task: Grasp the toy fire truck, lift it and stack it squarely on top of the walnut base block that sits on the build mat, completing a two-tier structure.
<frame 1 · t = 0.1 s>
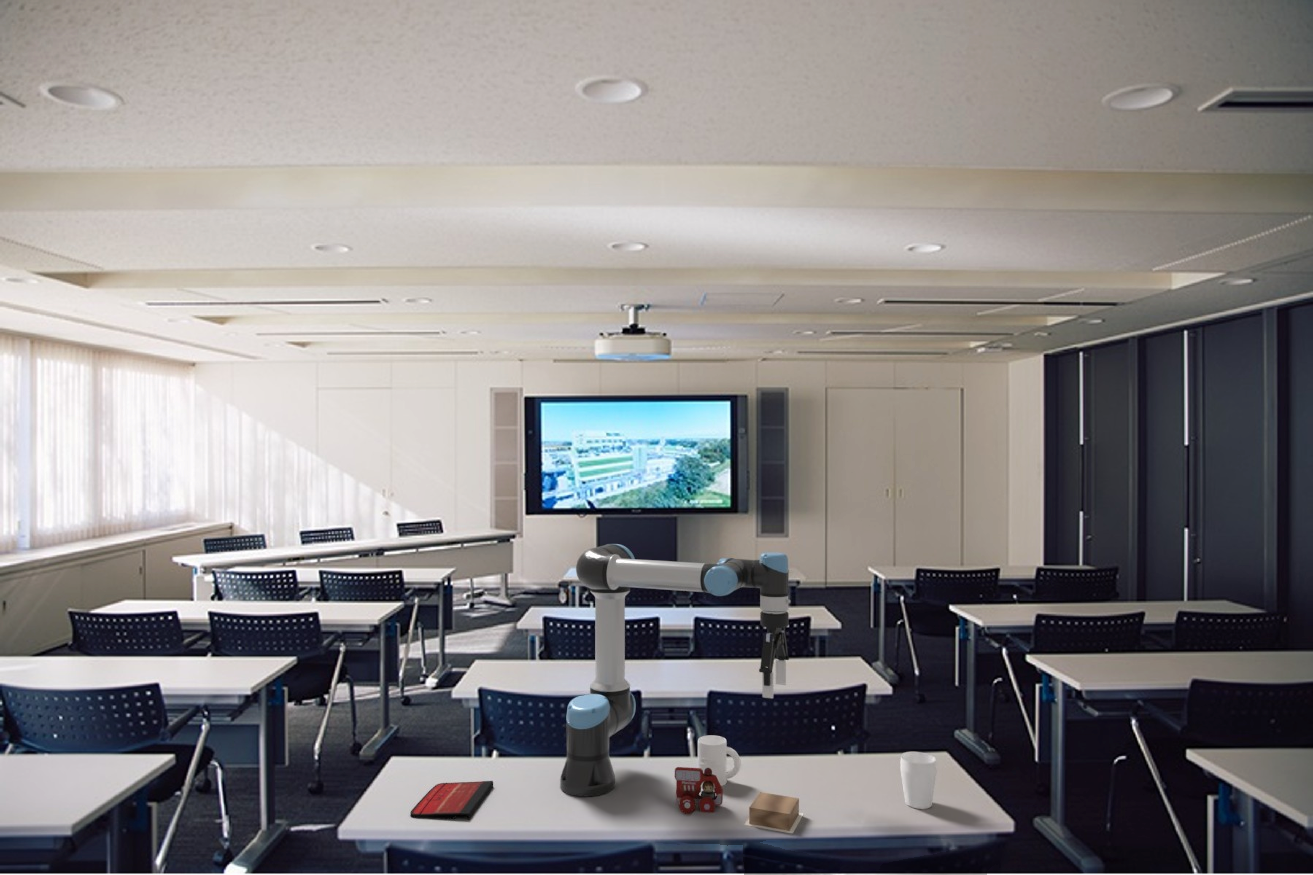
hand: (774, 690, 222), 28 cm above the table, fingers open, 13 cm apart
toy fire truck: (698, 809, 213), on the table
binder: (452, 804, 217), on the table
cup: (918, 804, 216), on the table
base block: (774, 818, 206), point 1 cm above the table, touching build mat
build mat: (774, 821, 206), on the table
mug: (719, 784, 229), on the table
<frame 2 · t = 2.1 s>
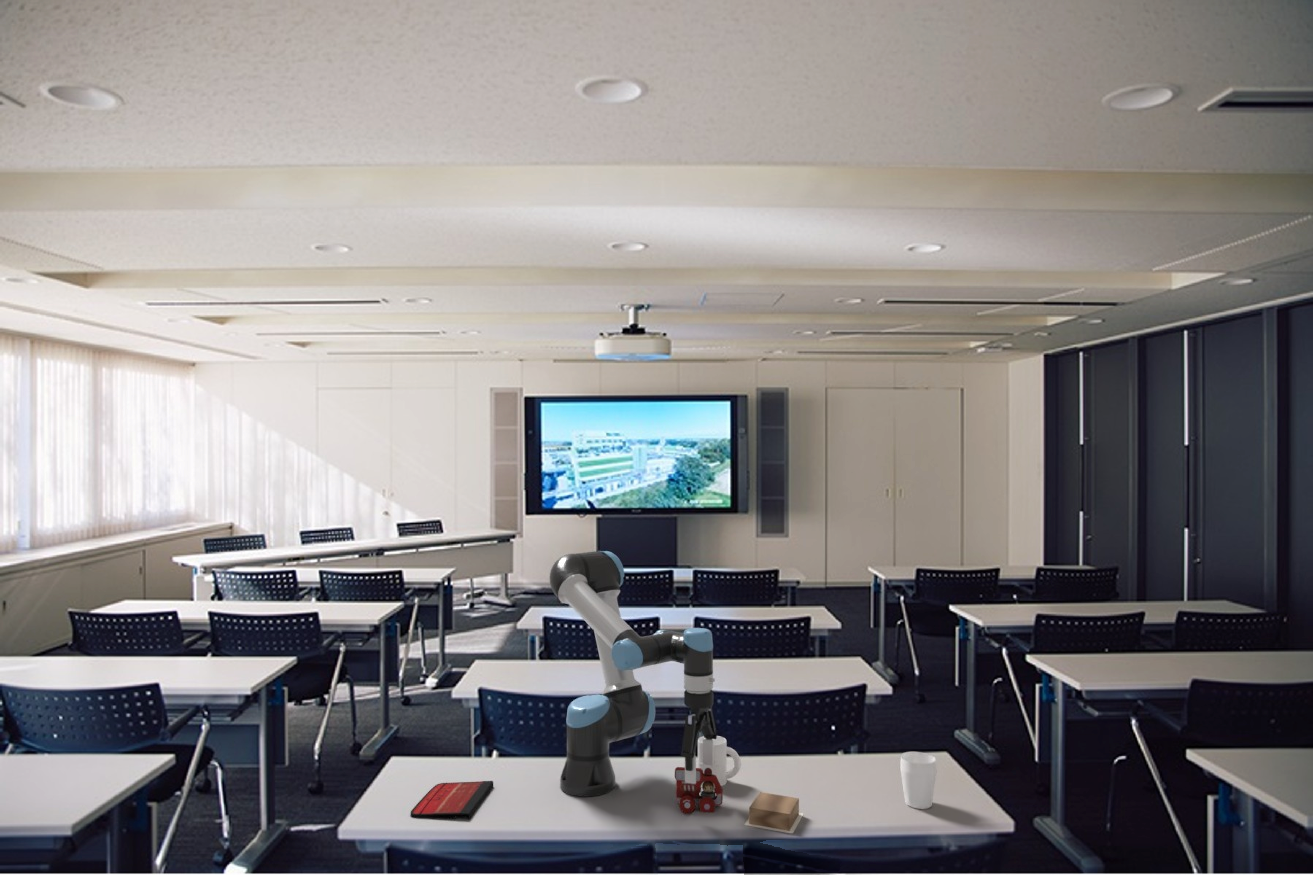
hand: (699, 773, 213), 9 cm above the table, fingers open, 13 cm apart
nothing on the table moved.
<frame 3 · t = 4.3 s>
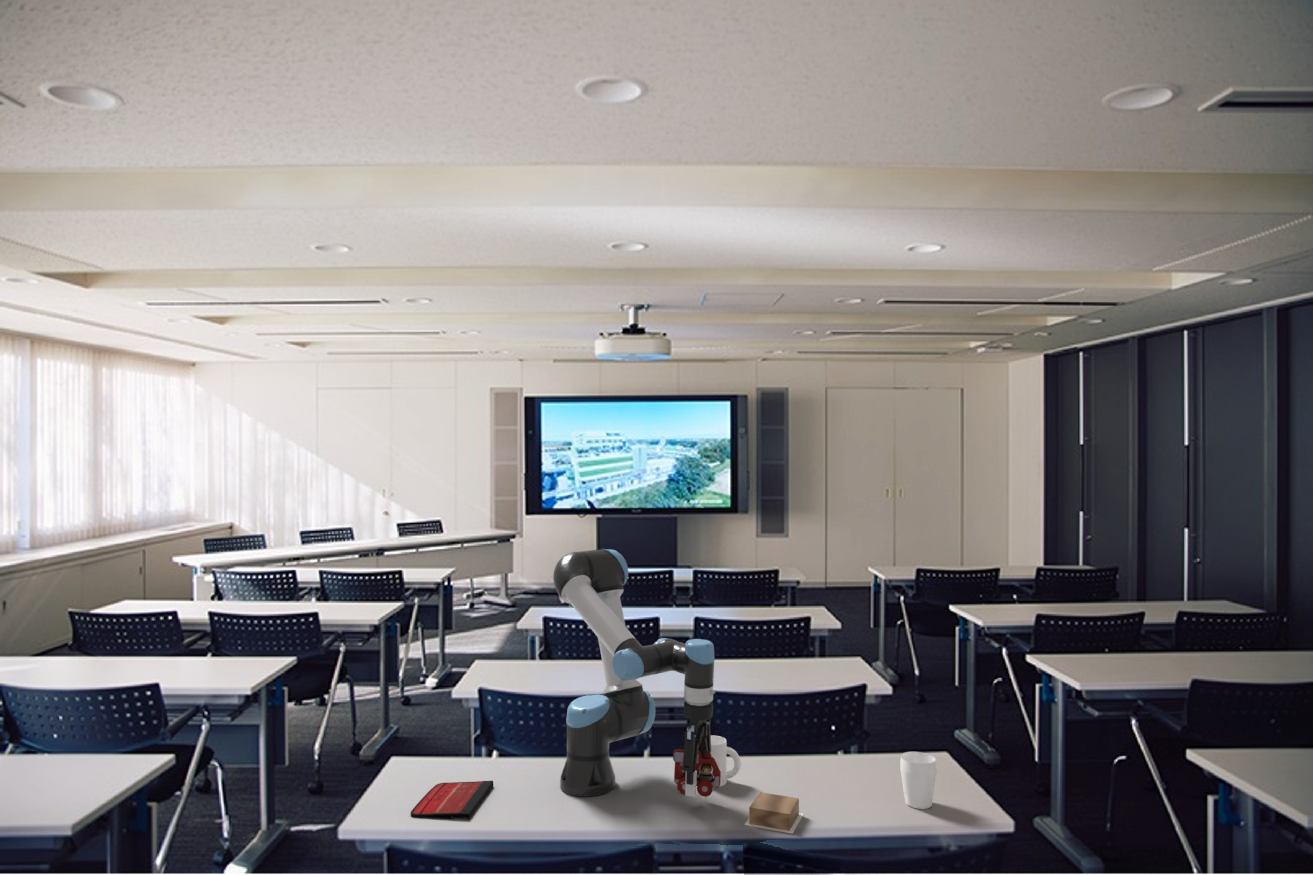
hand: (696, 788, 214), 5 cm above the table, fingers closed on toy fire truck, 8 cm apart
toy fire truck: (696, 791, 214), point 4 cm above the table, touching gripper
everything else where it was.
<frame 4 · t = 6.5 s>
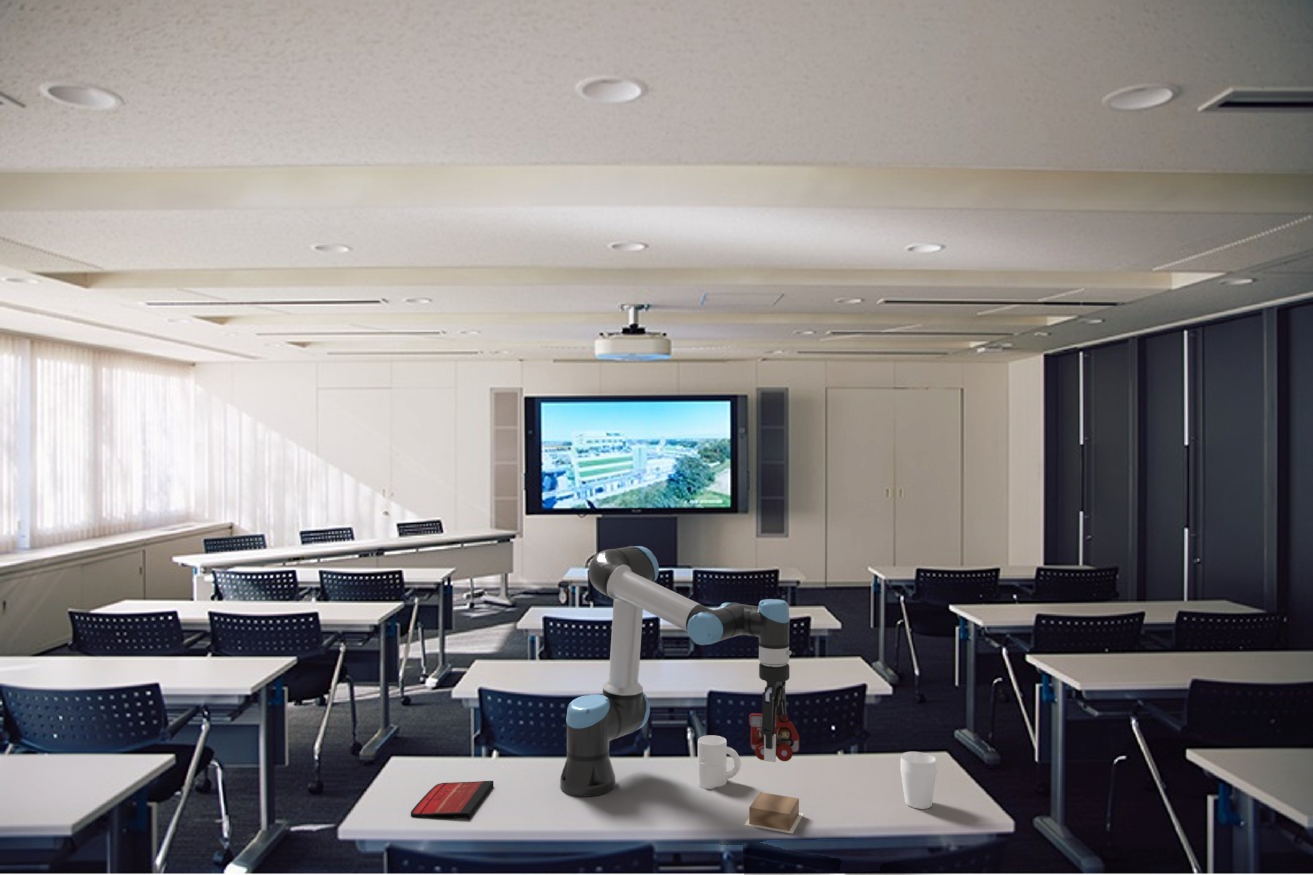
hand: (774, 754, 206), 16 cm above the table, fingers closed on toy fire truck, 8 cm apart
toy fire truck: (774, 756, 206), point 16 cm above the table, touching gripper
everything else where it was.
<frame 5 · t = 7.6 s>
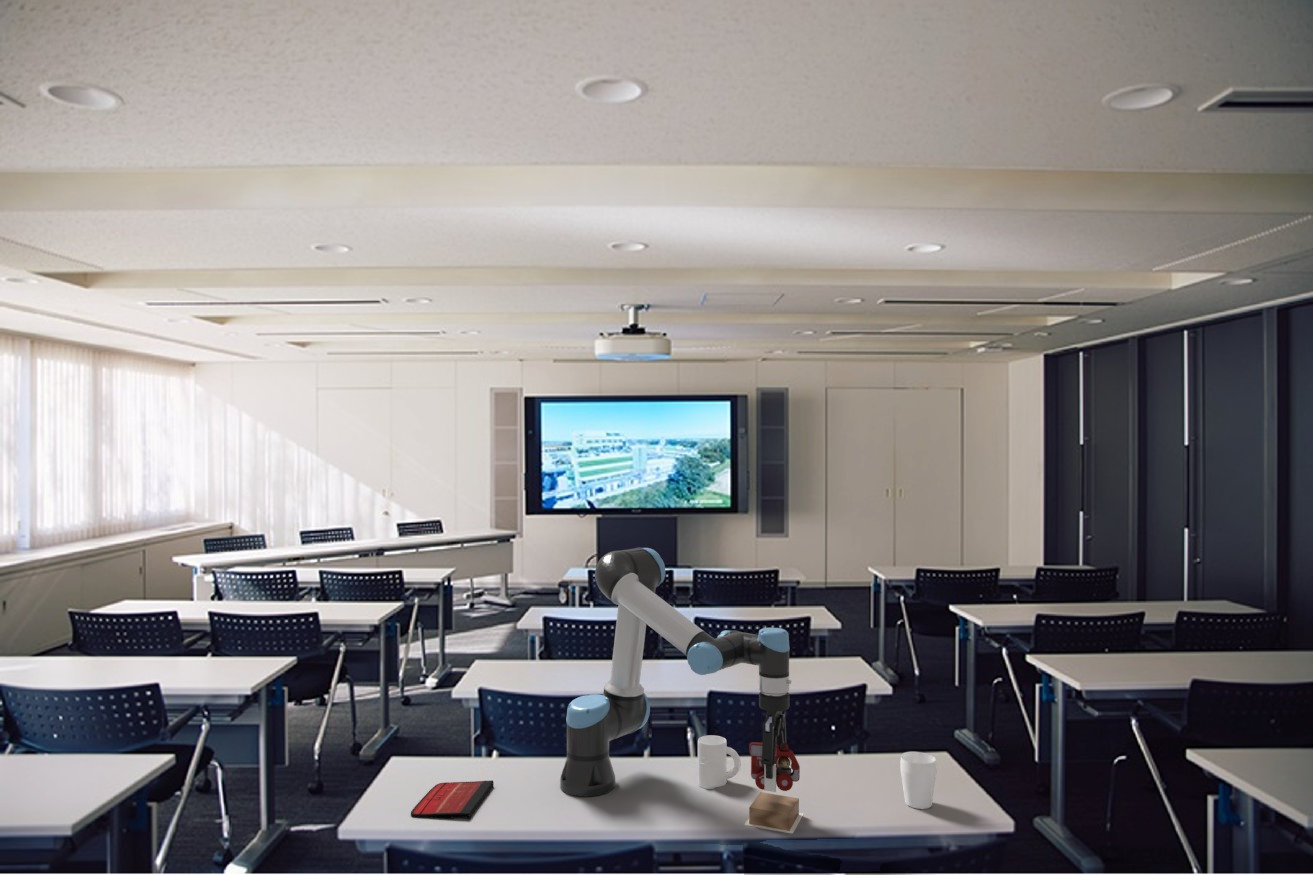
hand: (774, 784, 206), 9 cm above the table, fingers closed on toy fire truck, 8 cm apart
toy fire truck: (774, 786, 206), point 9 cm above the table, touching gripper
everything else where it was.
when the fingers open (6 cm above the table, at t = 8.6 s): toy fire truck drops 1 cm, resting on base block.
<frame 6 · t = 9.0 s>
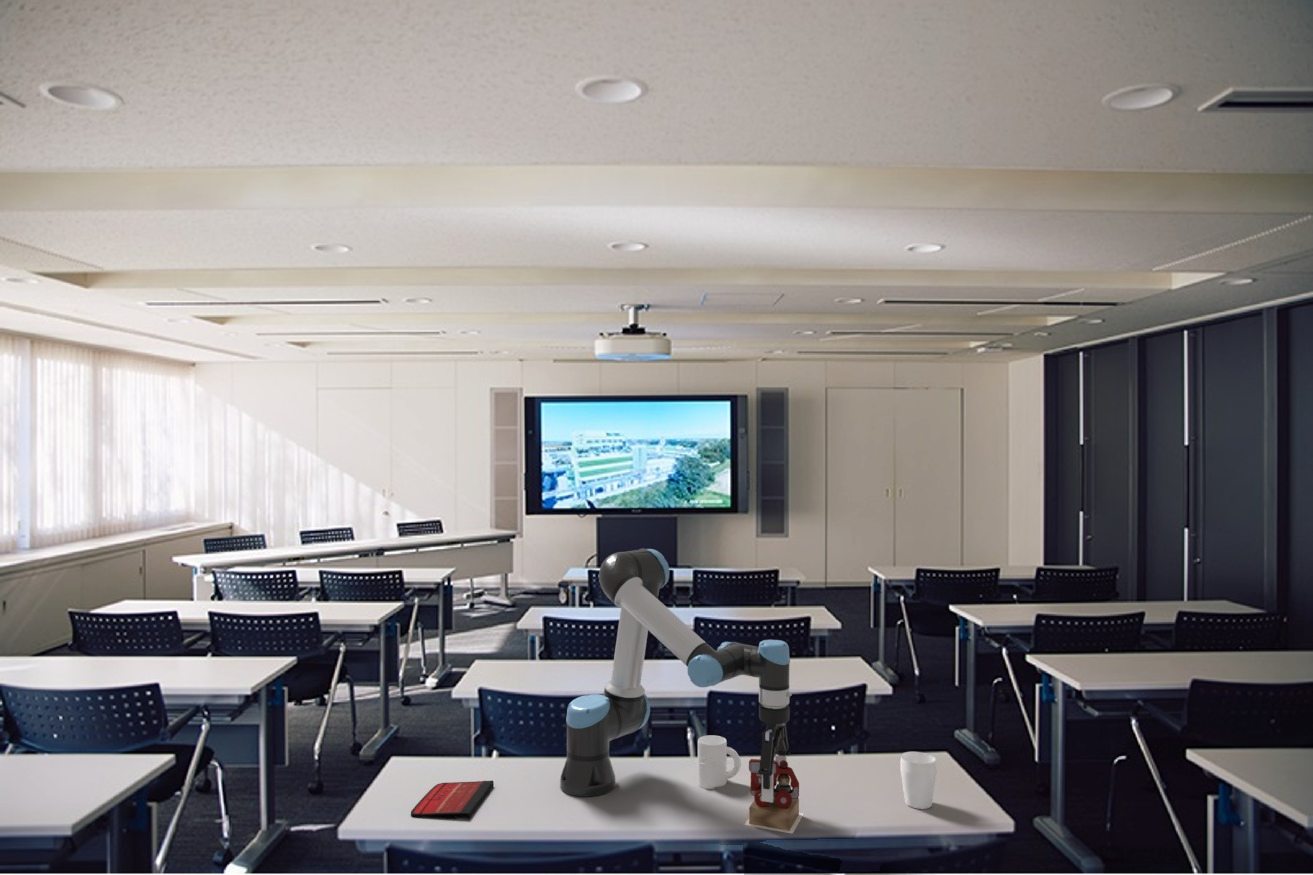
hand: (774, 791, 206), 8 cm above the table, fingers open, 12 cm apart
toy fire truck: (773, 803, 206), point 4 cm above the table, touching base block
base block: (774, 818, 206), point 1 cm above the table, touching build mat, toy fire truck
everything else where it was.
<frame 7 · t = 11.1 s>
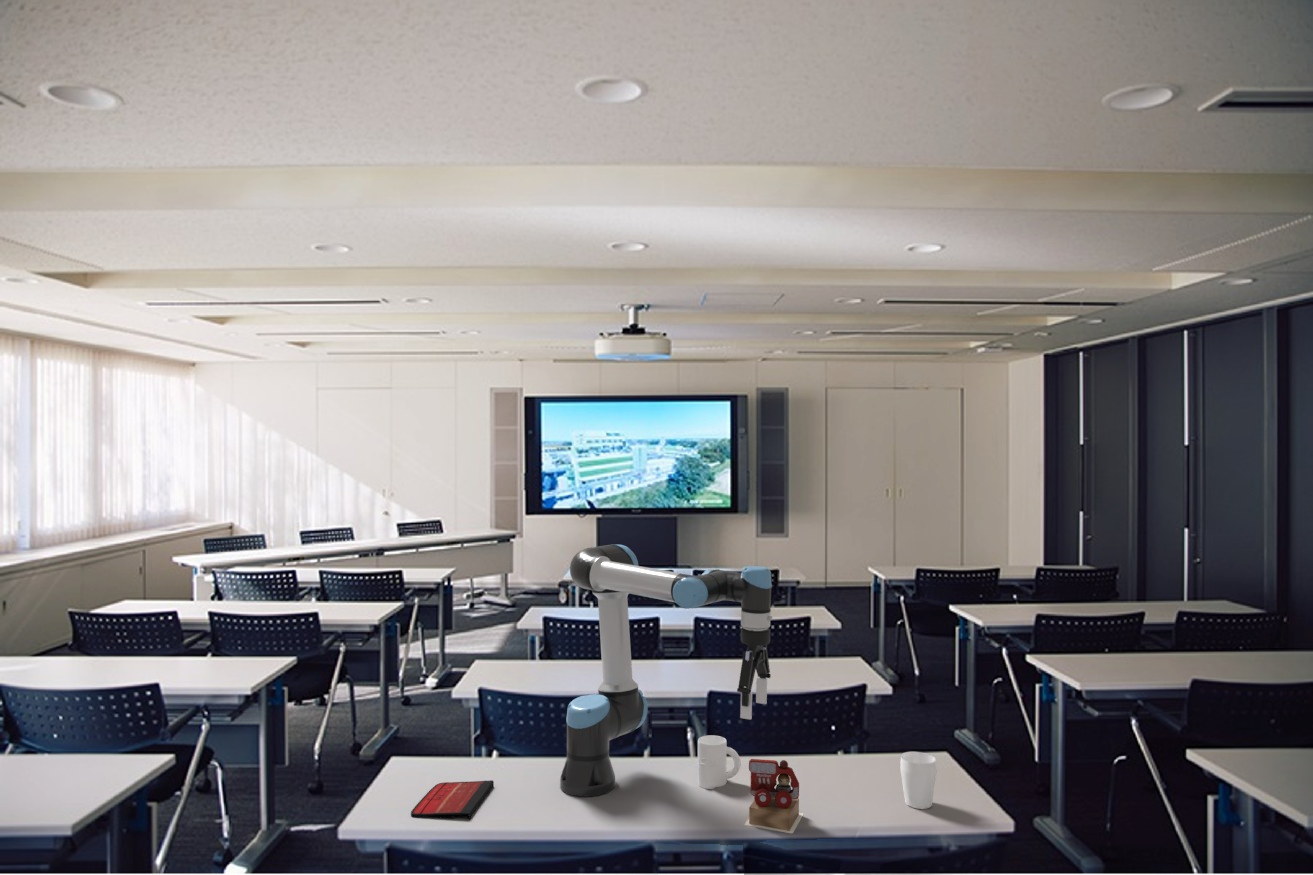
hand: (753, 710, 212), 25 cm above the table, fingers open, 13 cm apart
nothing on the table moved.
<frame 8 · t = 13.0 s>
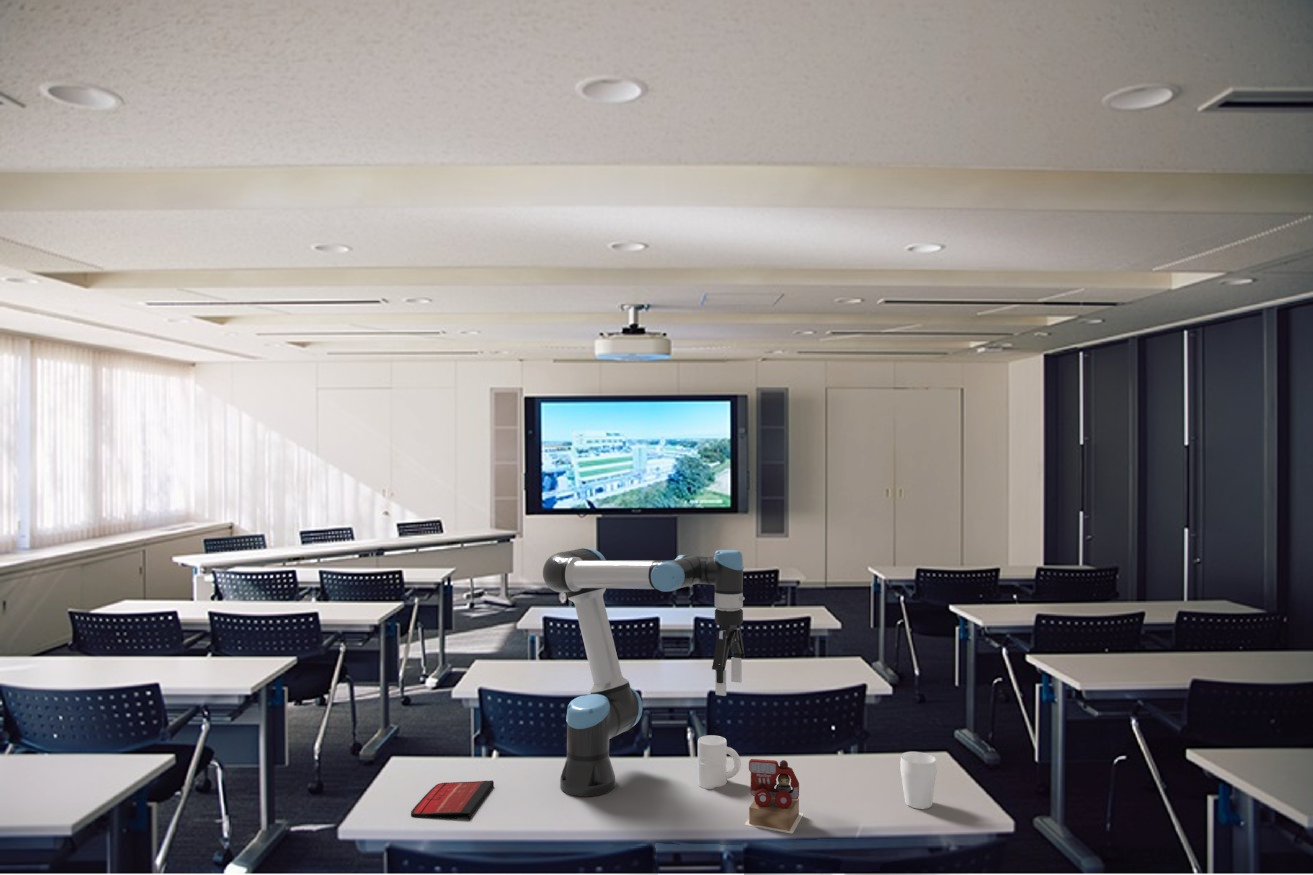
hand: (728, 688, 221), 29 cm above the table, fingers open, 13 cm apart
nothing on the table moved.
at the end: toy fire truck inside the target area on the base block (0.1 cm from its centre), point 3.8 cm above the base block's base; toy fire truck touching base block; base block inside the target area (0.0 cm from its centre), point 0.7 cm above the table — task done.
